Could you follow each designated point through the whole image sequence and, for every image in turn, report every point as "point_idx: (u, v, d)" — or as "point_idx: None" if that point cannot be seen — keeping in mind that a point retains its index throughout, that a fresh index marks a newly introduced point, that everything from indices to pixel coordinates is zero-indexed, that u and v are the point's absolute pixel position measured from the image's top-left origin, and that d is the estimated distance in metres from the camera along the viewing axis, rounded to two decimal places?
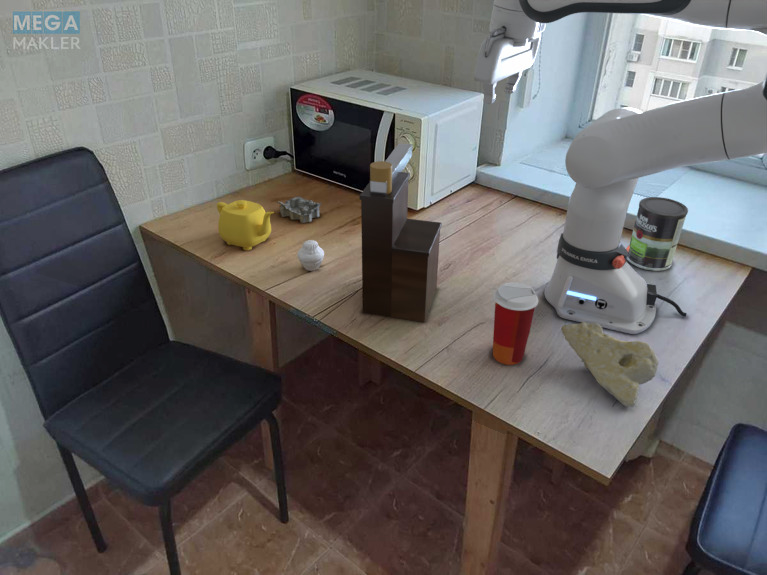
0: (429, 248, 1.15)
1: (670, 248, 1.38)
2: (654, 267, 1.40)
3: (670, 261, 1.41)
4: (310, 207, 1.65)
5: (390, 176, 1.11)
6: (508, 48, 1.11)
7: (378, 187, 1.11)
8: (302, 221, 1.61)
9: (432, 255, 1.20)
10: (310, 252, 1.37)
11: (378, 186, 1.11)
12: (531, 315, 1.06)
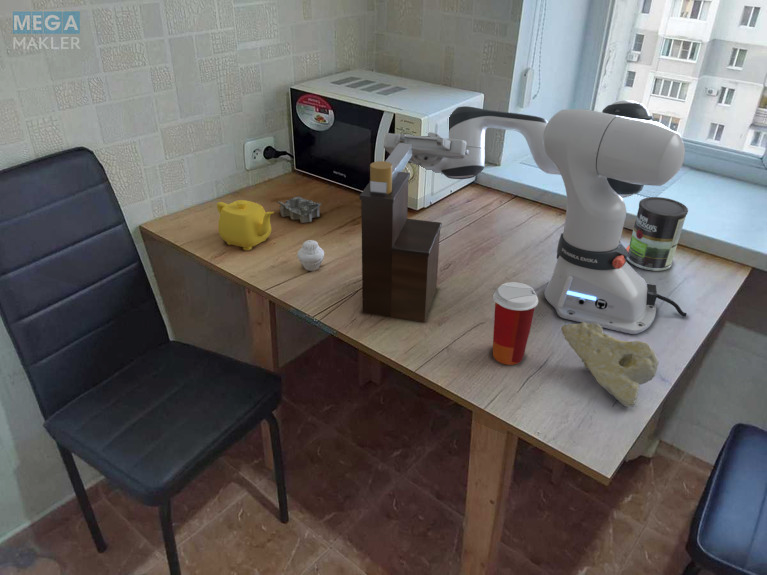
0: (429, 248, 1.15)
1: (670, 248, 1.38)
2: (654, 267, 1.40)
3: (670, 261, 1.41)
4: (310, 207, 1.65)
5: (390, 176, 1.11)
6: (444, 157, 1.52)
7: (378, 187, 1.11)
8: (302, 221, 1.61)
9: (432, 255, 1.20)
10: (310, 252, 1.37)
11: (378, 186, 1.11)
12: (531, 315, 1.06)
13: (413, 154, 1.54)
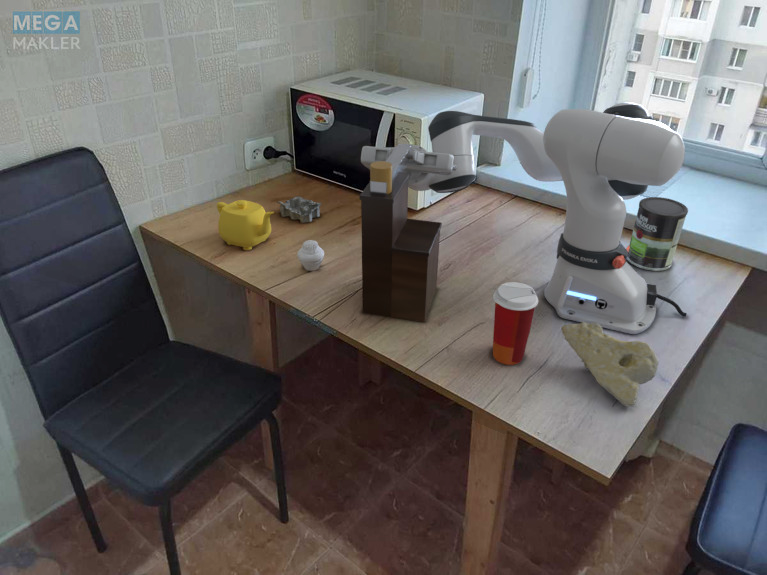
0: (429, 248, 1.15)
1: (670, 248, 1.38)
2: (654, 267, 1.40)
3: (670, 261, 1.41)
4: (310, 207, 1.65)
5: (390, 176, 1.11)
6: (429, 172, 1.35)
7: (378, 187, 1.11)
8: (302, 221, 1.61)
9: (432, 255, 1.20)
10: (310, 252, 1.37)
11: (378, 186, 1.11)
12: (531, 315, 1.06)
13: None
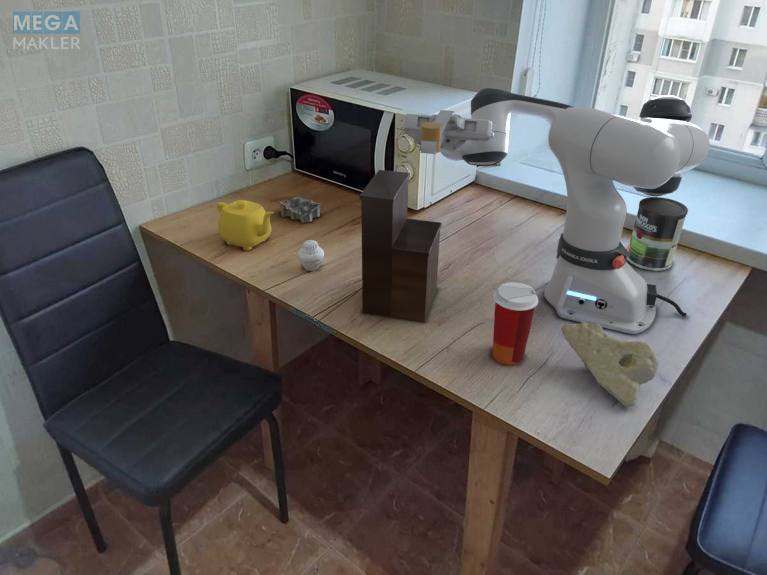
0: (429, 248, 1.15)
1: (670, 248, 1.38)
2: (654, 267, 1.40)
3: (670, 261, 1.41)
4: (310, 207, 1.65)
5: (439, 136, 1.18)
6: (467, 139, 1.42)
7: (428, 146, 1.18)
8: (302, 221, 1.61)
9: (432, 255, 1.20)
10: (310, 252, 1.37)
11: (429, 145, 1.18)
12: (531, 315, 1.06)
13: None
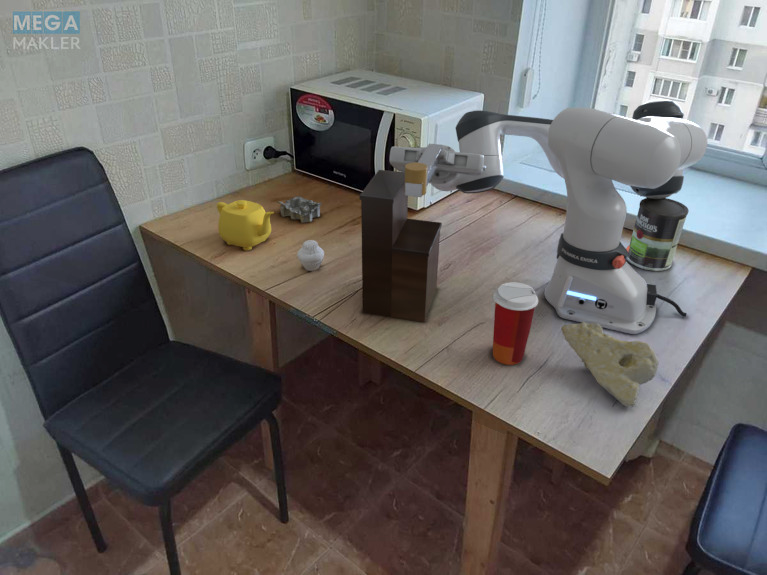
0: (429, 248, 1.15)
1: (670, 248, 1.38)
2: (654, 267, 1.40)
3: (670, 261, 1.41)
4: (310, 207, 1.65)
5: (425, 177, 1.09)
6: (458, 173, 1.34)
7: (413, 189, 1.09)
8: (302, 221, 1.61)
9: (432, 255, 1.20)
10: (310, 252, 1.37)
11: (413, 188, 1.09)
12: (531, 315, 1.06)
13: None
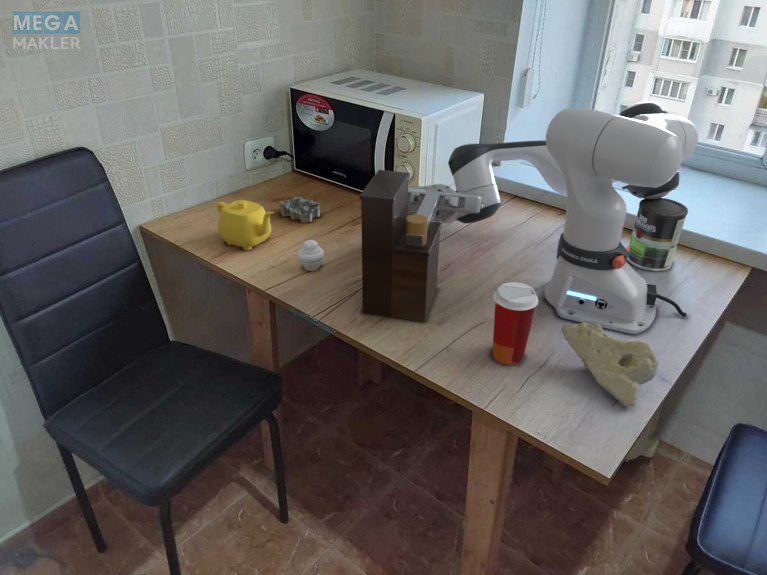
0: (429, 248, 1.15)
1: (669, 248, 1.38)
2: (653, 267, 1.40)
3: (670, 262, 1.41)
4: (310, 207, 1.65)
5: (426, 229, 1.15)
6: (457, 211, 1.39)
7: (414, 240, 1.15)
8: (302, 221, 1.61)
9: (432, 255, 1.20)
10: (310, 252, 1.37)
11: (414, 239, 1.15)
12: (531, 315, 1.06)
13: None
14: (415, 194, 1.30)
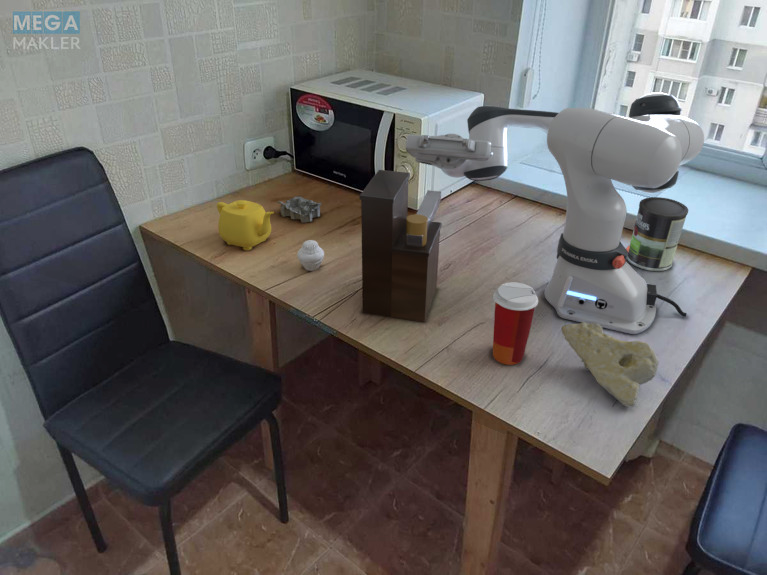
0: (429, 248, 1.15)
1: (664, 249, 1.38)
2: (647, 266, 1.41)
3: (666, 263, 1.40)
4: (310, 207, 1.65)
5: (426, 229, 1.15)
6: (467, 159, 1.48)
7: (414, 240, 1.15)
8: (303, 221, 1.61)
9: (432, 255, 1.20)
10: (310, 252, 1.37)
11: (414, 239, 1.15)
12: (531, 315, 1.06)
13: (435, 156, 1.50)
14: (424, 136, 1.40)
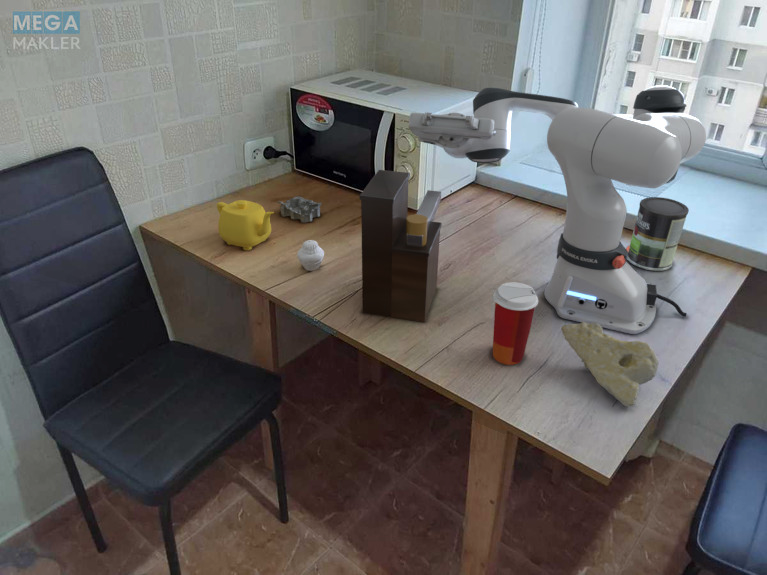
0: (429, 248, 1.15)
1: (664, 248, 1.38)
2: (647, 266, 1.41)
3: (666, 263, 1.40)
4: (310, 207, 1.65)
5: (426, 229, 1.15)
6: (470, 137, 1.48)
7: (414, 240, 1.15)
8: (303, 221, 1.61)
9: (432, 255, 1.20)
10: (310, 252, 1.37)
11: (414, 239, 1.15)
12: (531, 315, 1.06)
13: (438, 135, 1.49)
14: (427, 113, 1.39)
